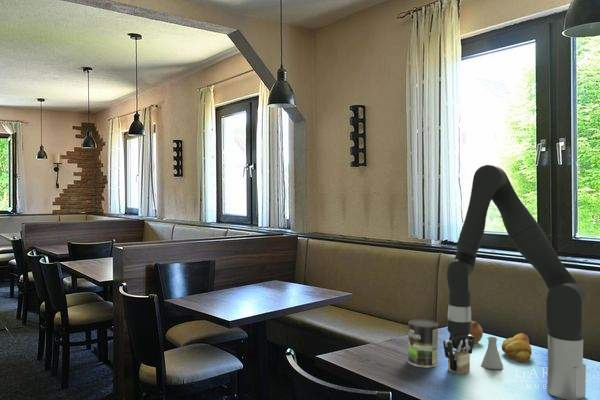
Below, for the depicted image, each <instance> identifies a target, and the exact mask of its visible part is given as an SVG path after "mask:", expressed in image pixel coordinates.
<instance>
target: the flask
mask: <svg viewBox="0 0 600 400" xmlns="http://www.w3.org/2000/svg"><path fill="white" fill-rule="evenodd" d="M487 340H488V341H487V349H486V351H485V354H484V357H483V359H482V361H481V366H482V367H483V368H484V369H490V370H503V368H504V365H503V362H502V359H501V357H500V353H499V350H498V345H497V344H498V343H497V342H498V337H496V336H488V337H487Z"/></svg>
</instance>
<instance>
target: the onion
mask: <svg viewBox="0 0 600 400" xmlns="http://www.w3.org/2000/svg"><path fill="white" fill-rule="evenodd" d="M483 334H484V331H483V328H482V327H481V325H480V324H479V323H478V322H477V321H475V320H471V333H470V334H468V335H472V336H474V344H478V343H479V342H480V341H481V340H482V338H483ZM474 344H473V345H474Z"/></svg>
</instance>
